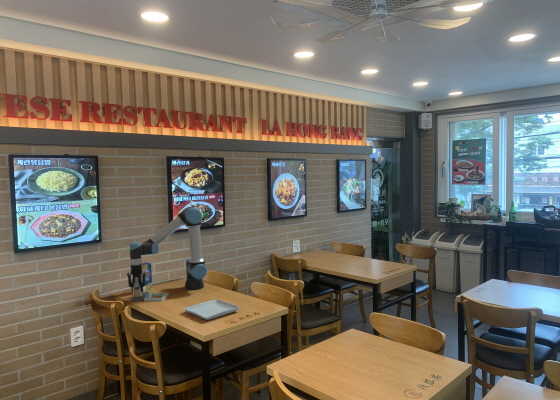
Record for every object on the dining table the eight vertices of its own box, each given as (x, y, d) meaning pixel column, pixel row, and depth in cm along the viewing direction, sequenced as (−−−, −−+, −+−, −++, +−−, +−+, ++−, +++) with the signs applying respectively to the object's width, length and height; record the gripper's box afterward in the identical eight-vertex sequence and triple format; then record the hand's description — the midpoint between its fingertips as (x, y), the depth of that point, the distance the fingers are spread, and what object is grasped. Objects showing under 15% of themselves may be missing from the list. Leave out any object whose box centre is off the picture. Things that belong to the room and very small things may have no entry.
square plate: (241, 312, 262) (241, 306, 262) (205, 323, 243) (205, 317, 243) (216, 303, 281) (216, 298, 281) (182, 313, 262) (181, 307, 262)
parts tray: (168, 296, 300) (168, 292, 300) (162, 301, 287) (162, 298, 287) (151, 296, 301) (151, 293, 301) (144, 301, 288) (143, 298, 288)
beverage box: (134, 293, 311) (133, 264, 310) (148, 290, 319) (147, 262, 317) (138, 294, 306) (137, 266, 305) (152, 291, 314) (151, 263, 312)
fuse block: (149, 295, 304) (149, 292, 304) (140, 302, 288) (140, 298, 288) (140, 295, 304) (139, 292, 304) (131, 302, 289) (130, 298, 289)
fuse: (146, 295, 302) (145, 283, 302) (144, 296, 298) (143, 284, 298) (141, 295, 303) (140, 283, 302) (138, 297, 299) (138, 284, 298)
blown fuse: (141, 298, 294) (141, 286, 293) (139, 300, 290) (138, 288, 289) (136, 298, 294) (135, 286, 294) (133, 300, 290) (133, 288, 289)
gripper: (149, 262, 293) (151, 294, 295) (126, 263, 295) (128, 294, 296) (145, 265, 286) (147, 297, 287) (122, 265, 287) (123, 297, 289)
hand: (137, 296), depth 292 cm, fingers closed on blown fuse, 4 cm apart
